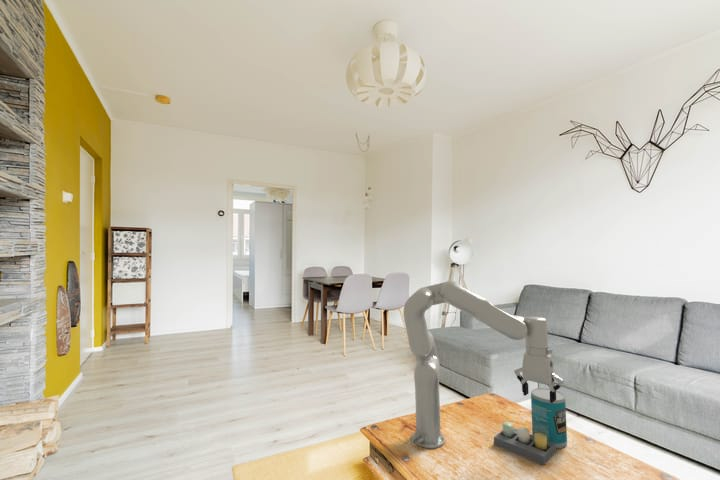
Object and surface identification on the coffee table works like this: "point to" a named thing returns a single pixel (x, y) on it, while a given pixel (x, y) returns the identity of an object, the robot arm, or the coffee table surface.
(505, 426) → the pale green egg
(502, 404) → the coffee table surface
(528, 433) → the key ivory
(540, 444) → the key mustard
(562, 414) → the food can
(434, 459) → the coffee table surface
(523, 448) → the gray compartment tray
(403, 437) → the coffee table surface
